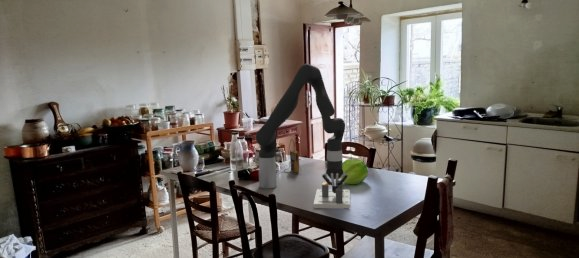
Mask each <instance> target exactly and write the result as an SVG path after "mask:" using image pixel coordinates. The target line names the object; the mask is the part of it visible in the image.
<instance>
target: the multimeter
mask: <svg viewBox="0 0 579 258" xmlns="http://www.w3.org/2000/svg"><path fill="white" fill-rule="evenodd" d="M291 142H293V149H291V150H289V161H288V166H289V167H288V168H290V171H286V170H287V168H285V169H284V170H283V172H284V173H290V174H292V175H294V174H298V173H300V171H302V168H301V166H300V158H299V157H300V156H299V155H300V153H299V151H298V150H296V147H297V149H299V148H298V147H299V146H298V144H297V140H295V141H294V140H292V141H289V146H288V148H290V146H291ZM295 143H296V147H295ZM293 172H294V173H293Z"/></svg>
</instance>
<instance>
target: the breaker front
mask: <svg viewBox="0 0 579 258" xmlns="http://www.w3.org/2000/svg"><path fill="white" fill-rule="evenodd" d="M336 203H342V188H336Z"/></svg>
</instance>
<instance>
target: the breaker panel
mask: <svg viewBox="0 0 579 258" xmlns="http://www.w3.org/2000/svg"><path fill="white" fill-rule="evenodd" d="M350 191H351V190H350V189H343V192H342V203H336V193H334V192H332V188H331V189H329V196H328V197H322V188H320V189H319V188H317V189H316V192H315V197H314V201H313V208H314V209H344V208H351V197H350V196H351V195H350V193H351V192H350Z"/></svg>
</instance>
